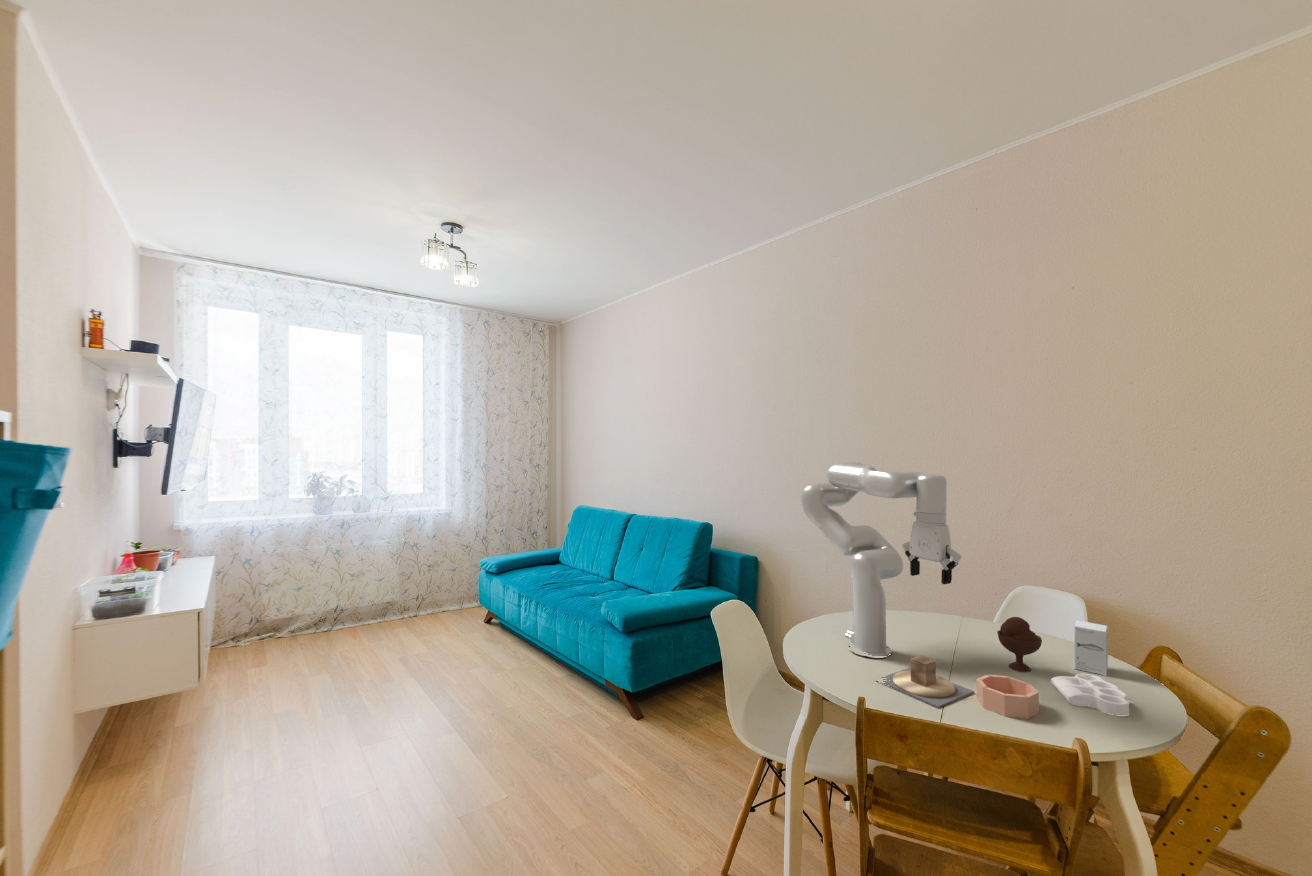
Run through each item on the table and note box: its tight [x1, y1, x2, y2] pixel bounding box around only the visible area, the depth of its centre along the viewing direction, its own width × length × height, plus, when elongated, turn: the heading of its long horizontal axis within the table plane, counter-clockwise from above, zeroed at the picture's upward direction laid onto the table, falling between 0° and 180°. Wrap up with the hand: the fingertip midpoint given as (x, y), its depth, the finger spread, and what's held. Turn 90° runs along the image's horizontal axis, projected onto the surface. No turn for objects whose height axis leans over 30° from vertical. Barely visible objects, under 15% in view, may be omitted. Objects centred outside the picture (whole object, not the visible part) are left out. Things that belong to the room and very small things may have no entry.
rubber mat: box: [880, 666, 975, 709], centre depth 145 cm, size 18×16×1 cm
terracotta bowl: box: [976, 674, 1040, 719], centre depth 135 cm, size 12×12×5 cm
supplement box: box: [1073, 620, 1109, 677], centre depth 156 cm, size 7×7×13 cm
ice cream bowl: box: [996, 616, 1043, 673], centre depth 157 cm, size 11×11×15 cm
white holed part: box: [1050, 672, 1135, 716], centre depth 138 cm, size 3×18×15 cm
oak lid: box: [893, 655, 955, 698], centre depth 145 cm, size 15×15×7 cm
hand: (930, 579), depth 152 cm, fingers open, 9 cm apart
